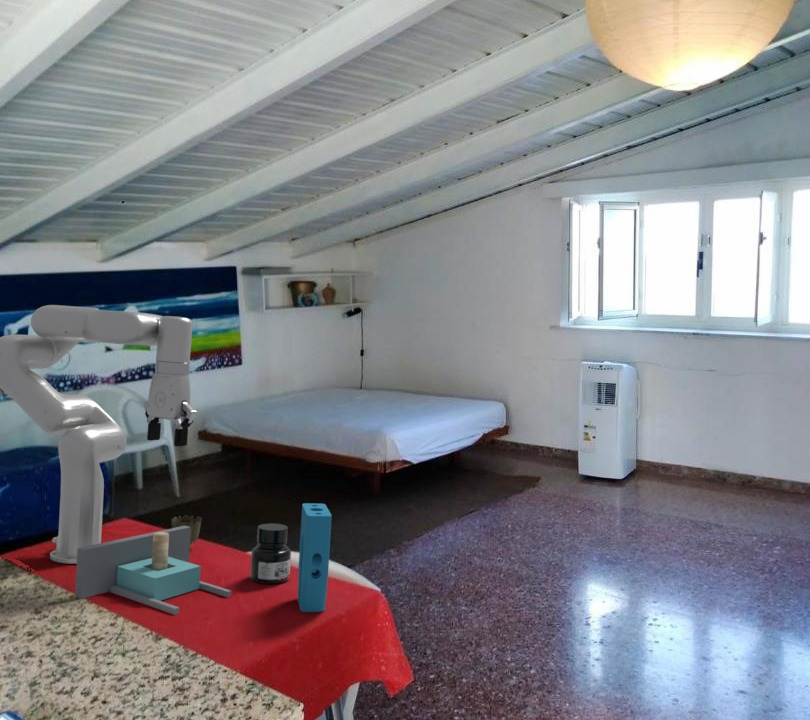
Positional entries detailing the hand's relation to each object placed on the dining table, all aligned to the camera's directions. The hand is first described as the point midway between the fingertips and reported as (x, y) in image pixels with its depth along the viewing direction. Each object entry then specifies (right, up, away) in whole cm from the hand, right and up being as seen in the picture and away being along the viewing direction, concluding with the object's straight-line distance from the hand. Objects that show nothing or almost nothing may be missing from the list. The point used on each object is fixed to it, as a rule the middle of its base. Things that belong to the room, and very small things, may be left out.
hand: (166, 442), depth 177 cm
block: (+36, -32, -18) cm, 51 cm away
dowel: (+3, -30, -14) cm, 33 cm away
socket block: (+3, -30, -14) cm, 33 cm away
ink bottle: (+24, -31, -2) cm, 40 cm away
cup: (-1, -29, +18) cm, 34 cm away
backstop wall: (+5, -30, -16) cm, 34 cm away
